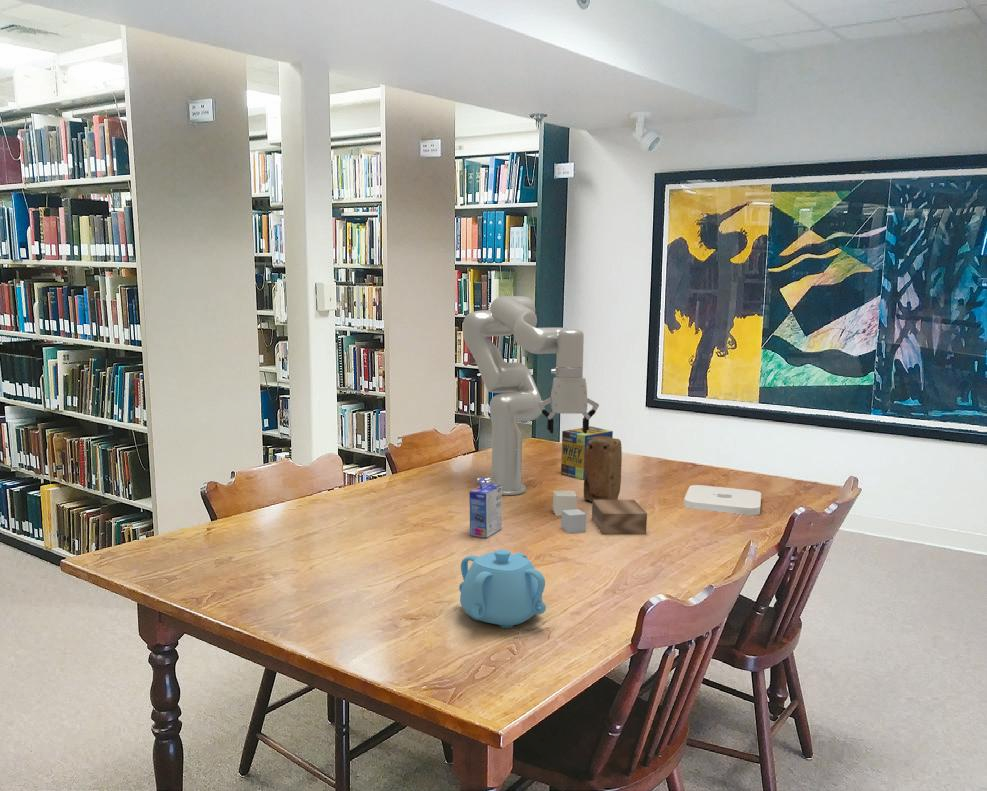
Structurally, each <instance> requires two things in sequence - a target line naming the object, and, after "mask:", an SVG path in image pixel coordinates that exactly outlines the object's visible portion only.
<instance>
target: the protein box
mask: <svg viewBox="0 0 987 791" xmlns="http://www.w3.org/2000/svg"><path fill="white" fill-rule="evenodd" d="M582 429H583V427H579V428H573V429H568V430H562V435H561V436H562V437H561V459H560V461H561V463H560V464H561V466H560V467H561V468H560V475H562V474H563V475H562V476H565V477H566V476H567V477H570V476H571V477H570V478H574V477H575V478H574V479H578V478H579V479H578V480H581V479H582V481H584V480H583V479H584V478H585V474H584V458H585V450H586V446H587V444H588V442H589V441H590V440H591V439H592V438H594V437H597V436H604V437H605V436H607V437H611V438H613V434H614V431H613V430H609V429H605V428H600V427H595V426H592V425H591V426H590V425H589V430H587V433H584V432H583V431H582Z"/></svg>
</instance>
